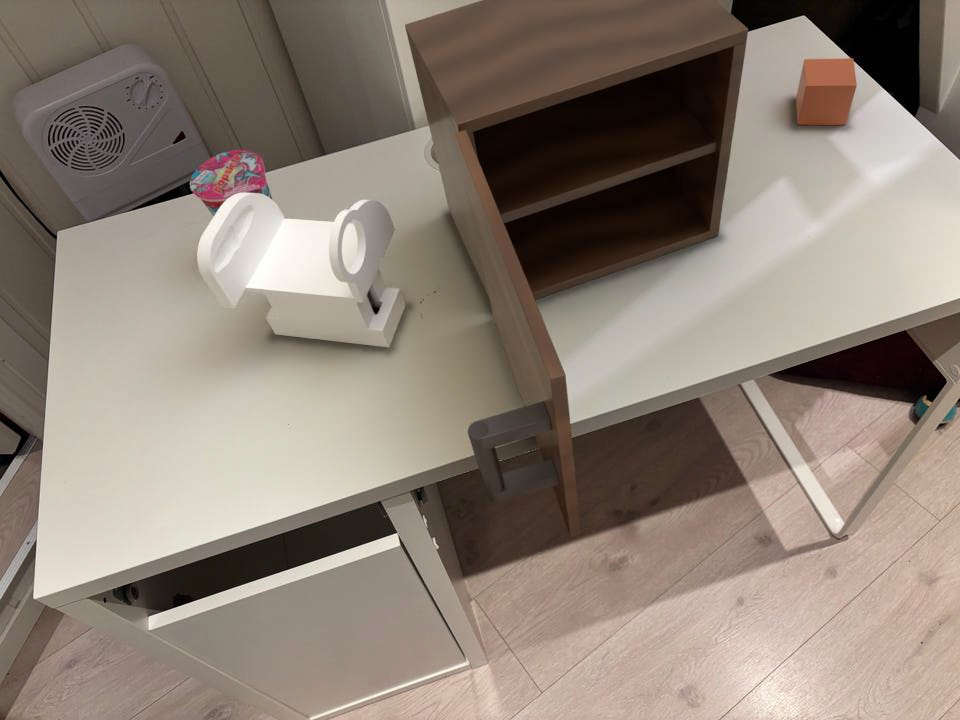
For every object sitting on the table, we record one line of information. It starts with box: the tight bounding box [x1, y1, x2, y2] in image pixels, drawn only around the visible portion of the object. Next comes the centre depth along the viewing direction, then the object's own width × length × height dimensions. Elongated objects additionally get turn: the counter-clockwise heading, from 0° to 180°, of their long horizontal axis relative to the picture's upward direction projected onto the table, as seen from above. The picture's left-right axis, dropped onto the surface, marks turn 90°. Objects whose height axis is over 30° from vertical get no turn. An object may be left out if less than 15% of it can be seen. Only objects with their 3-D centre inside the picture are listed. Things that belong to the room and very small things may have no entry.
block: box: [795, 57, 858, 126], centre depth 90 cm, size 6×6×6 cm
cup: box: [189, 149, 274, 217], centre depth 88 cm, size 9×8×12 cm
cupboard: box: [404, 0, 749, 300], centre depth 77 cm, size 18×26×24 cm
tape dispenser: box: [196, 192, 406, 348], centre depth 76 cm, size 14×13×18 cm
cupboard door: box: [455, 130, 582, 539], centre depth 63 cm, size 7×26×24 cm, turn 14°
